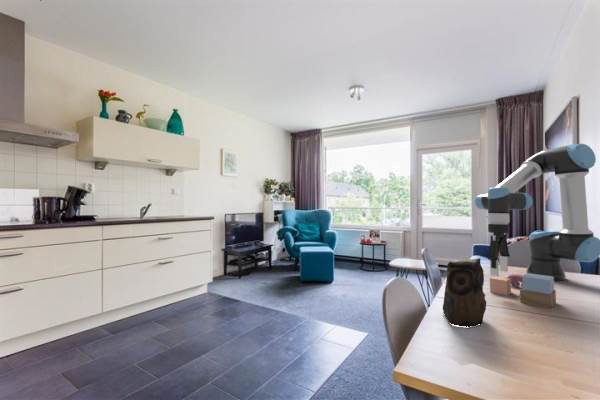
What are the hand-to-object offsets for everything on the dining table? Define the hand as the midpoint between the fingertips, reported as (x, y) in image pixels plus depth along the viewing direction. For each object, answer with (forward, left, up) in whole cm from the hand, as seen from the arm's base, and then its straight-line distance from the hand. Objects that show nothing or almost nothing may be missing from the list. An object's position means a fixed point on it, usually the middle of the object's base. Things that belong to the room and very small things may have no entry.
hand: (499, 273), depth 121 cm
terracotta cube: (0, 0, -8) cm, 8 cm away
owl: (+44, 0, -8) cm, 44 cm away
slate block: (+5, +14, -3) cm, 15 cm away
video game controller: (-16, +4, -8) cm, 18 cm away
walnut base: (+5, +13, -8) cm, 16 cm away
